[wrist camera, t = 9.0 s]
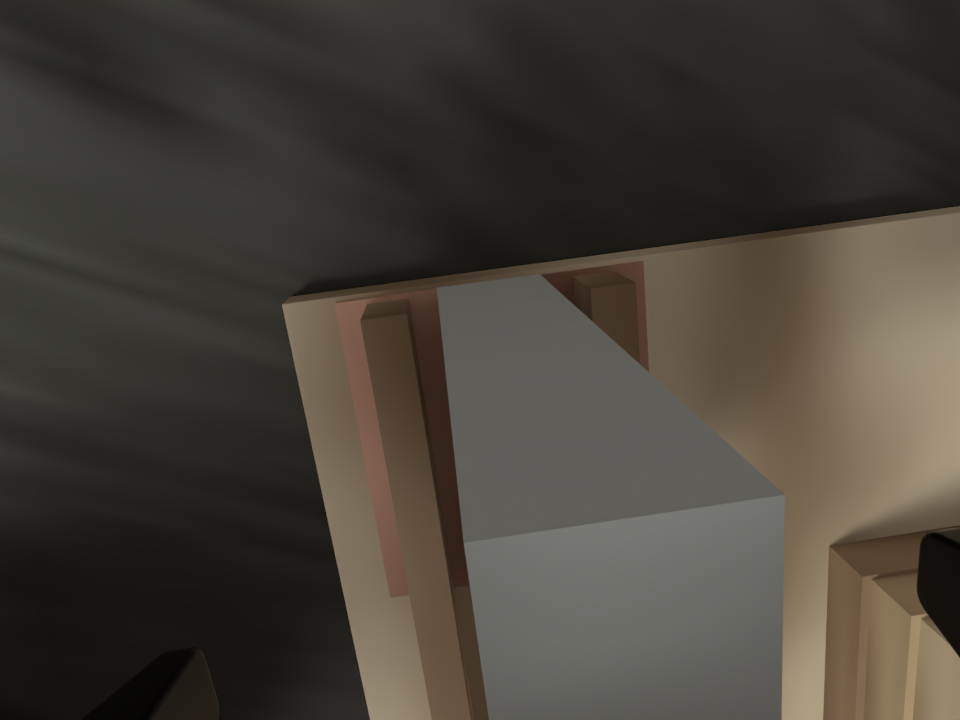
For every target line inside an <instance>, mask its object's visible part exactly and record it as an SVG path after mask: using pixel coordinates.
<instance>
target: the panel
mask: <svg viewBox="0 0 960 720" xmlns="http://www.w3.org/2000/svg"><path fill="white" fill-rule="evenodd" d="M437 296H438V306H439V315H440V325H441V334H442V343H443V353H444V362H445V372H446V381H447V390H448V400H449V409H450V419H451V428H452V438H453V447H454V456H455V466H456V475H457V485H458V494H459V504H460V513H461V522H462V532H463V541H464V549H465V556H466V563H467V570H468V577H469V584H470V591H471V598H472V604H473V611H474V618H475V625H476V632H477V639H478V646H479V653H480V660H481V667H482V674H483V681H484V688H485V695H486V702H487V709H488V716H489V720H782V657H783V592H784V527H785V494H784V493H782V492H781V491H780V490H779V489H778V488H777V487H776V486H775V485H774V484H772V483H771V482H770V481H769V480H768V479H767V478H766V477H765V476H764V475H762V474H761V473H760V472H759V471H758V470H757V469H756V468H755V467H754V466H752V465H751V464H750V463H749V462H748V461H747V460H746V459H745V458H744V457H742V456H741V455H740V454H739V453H738V452H737V451H736V450H735V449H734V448H732V447H731V446H730V445H729V444H728V443H727V442H726V441H725V440H724V439H722V438H721V437H720V436H719V435H718V434H717V433H716V432H715V431H714V430H712V429H711V428H710V427H709V426H708V425H707V424H706V423H705V422H704V421H702V420H701V419H700V418H699V417H698V416H697V415H696V414H695V413H694V412H692V411H691V410H690V409H689V408H688V407H687V406H686V405H685V404H684V403H682V402H681V401H680V400H679V399H678V398H677V397H676V396H675V395H674V394H672V393H671V392H670V391H669V390H668V389H667V388H666V387H665V386H664V385H662V384H661V383H660V382H659V381H658V380H657V379H656V378H655V377H654V376H652V375H651V374H650V373H649V372H648V371H647V370H646V369H645V368H644V367H642V366H641V365H640V364H639V363H638V362H637V361H636V360H635V359H634V358H632V357H631V356H630V355H629V354H628V353H627V352H626V351H625V350H624V349H622V348H621V347H620V346H619V345H618V344H617V343H616V342H615V341H614V340H612V339H611V338H610V337H609V336H608V335H607V334H606V333H605V332H604V331H602V330H601V329H600V328H599V327H598V326H597V325H596V324H595V323H594V322H592V321H591V320H590V319H589V318H588V317H587V316H586V315H585V314H584V313H582V312H581V311H580V310H579V309H578V308H577V307H576V306H575V305H574V304H572V303H571V302H570V301H569V300H568V299H567V298H566V297H565V296H564V295H562V294H561V293H560V292H559V291H558V290H557V289H556V288H555V287H554V286H552V285H551V284H550V283H549V282H548V281H547V280H546V279H545V278H544V277H542V276H541V275H540V274H536V275H529V276H521V277H513V278H506V279H498V280H491V281H483V282H476V283H468V284H460V285H453V286H445V287H438V288H437Z"/></svg>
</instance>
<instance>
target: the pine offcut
mask: <svg viewBox="0 0 960 720" xmlns="http://www.w3.org/2000/svg"><path fill="white" fill-rule="evenodd" d="M913 720H960V658H959V656H958V655H957V654H956V652H955V651H954V650H953V648H952V647H951V646H950V644H949V643H948V641H947V640H946V639H945V637H944V636H943V635H942V633H941V632H940V631H939V629H938V628H937V627H936V625H935V624H934V623H933V621H932V620H931V619H930V617H929V618H923V619H921V624H920V636H919V648H918V660H917V672H916V685H915V697H914V709H913Z"/></svg>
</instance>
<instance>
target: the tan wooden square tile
mask: <svg viewBox="0 0 960 720" xmlns="http://www.w3.org/2000/svg"><path fill="white" fill-rule="evenodd" d="M950 528H960V525H958V526H952V527H945V528H939V529H933V530H926V531H920V532H914V533H907V534H901V535H895V536H888V537H882V538H876V539H869V540H863V541H857V542H850V543H844V544H837V545H831V546H829V560H828V590H827V620H826V650H825V680H824V710H823V720H864V702H865V684H866V666H867V648H868V630H869V612H870V594H871V579H877V578H883V577H890V576H896V575H902V574H908V573H915V572H918V560H919V547H920V540H921V539H922V537H923V535H925V534H926V533H928V532H931V531H937V530H943V529H950Z"/></svg>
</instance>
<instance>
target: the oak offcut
mask: <svg viewBox="0 0 960 720" xmlns="http://www.w3.org/2000/svg"><path fill="white" fill-rule="evenodd" d="M916 586H917V572H915V573H908V574H902V575H896V576H890V577H883V578H877V579H871V594H870V612H869V630H868V648H867V666H866V684H865V702H864V720H913V709H914V697H915V685H916V672H917V660H918V648H919V636H920V624H921V619H923V618H929V616H928V614H927V613H926V612H925V610H924V609H923V607H922V605H921V603H920V601H919V598H918V595H917V587H916Z"/></svg>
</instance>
